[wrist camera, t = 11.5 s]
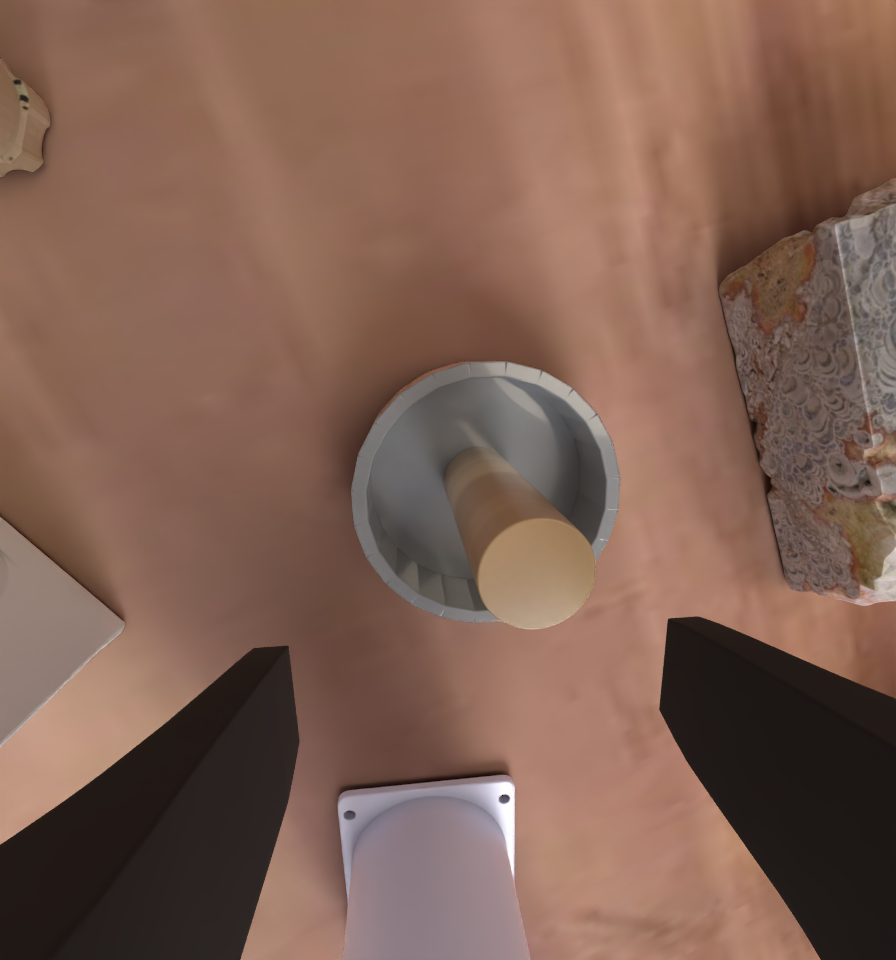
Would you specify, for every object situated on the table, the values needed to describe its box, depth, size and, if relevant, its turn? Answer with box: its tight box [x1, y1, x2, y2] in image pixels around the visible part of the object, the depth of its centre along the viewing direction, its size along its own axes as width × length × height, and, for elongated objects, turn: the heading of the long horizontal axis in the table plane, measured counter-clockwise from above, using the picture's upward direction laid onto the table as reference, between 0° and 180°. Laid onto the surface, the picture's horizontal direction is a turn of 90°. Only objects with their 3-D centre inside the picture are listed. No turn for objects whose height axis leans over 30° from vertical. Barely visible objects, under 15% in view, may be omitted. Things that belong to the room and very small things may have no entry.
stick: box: [444, 447, 596, 630], centre depth 14 cm, size 3×3×8 cm
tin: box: [351, 361, 620, 623], centre depth 17 cm, size 9×9×3 cm
